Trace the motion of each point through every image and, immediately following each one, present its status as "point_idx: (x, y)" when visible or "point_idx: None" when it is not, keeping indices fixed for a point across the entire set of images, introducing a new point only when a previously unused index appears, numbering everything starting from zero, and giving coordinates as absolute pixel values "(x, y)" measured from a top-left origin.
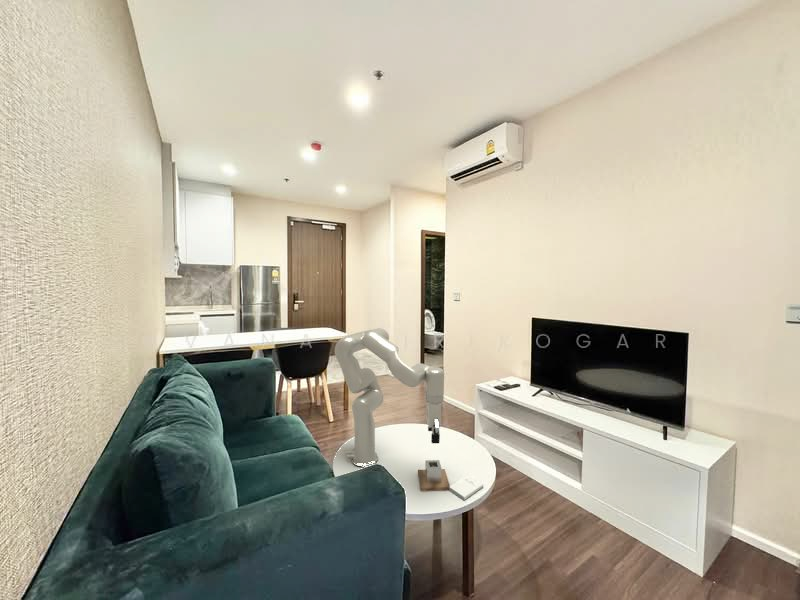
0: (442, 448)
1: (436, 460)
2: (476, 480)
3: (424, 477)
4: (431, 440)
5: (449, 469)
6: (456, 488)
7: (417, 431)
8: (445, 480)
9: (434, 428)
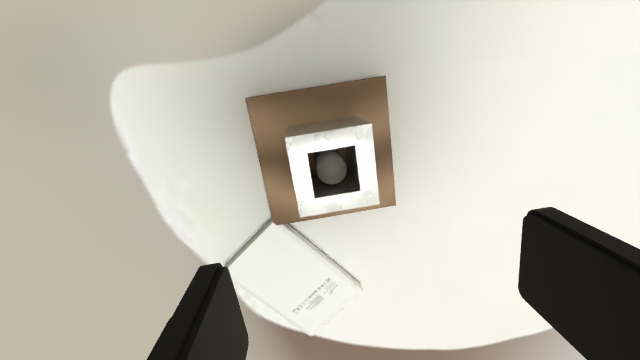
0: (570, 190)
1: (375, 189)
2: (328, 317)
3: (324, 113)
4: (200, 282)
5: (410, 218)
6: (267, 249)
7: None
8: None
9: (549, 310)
